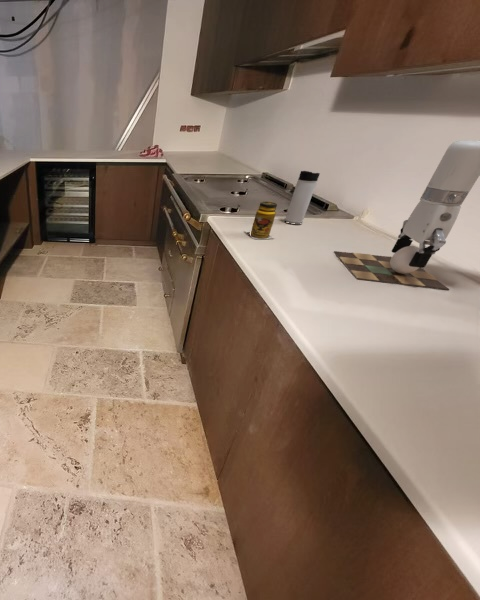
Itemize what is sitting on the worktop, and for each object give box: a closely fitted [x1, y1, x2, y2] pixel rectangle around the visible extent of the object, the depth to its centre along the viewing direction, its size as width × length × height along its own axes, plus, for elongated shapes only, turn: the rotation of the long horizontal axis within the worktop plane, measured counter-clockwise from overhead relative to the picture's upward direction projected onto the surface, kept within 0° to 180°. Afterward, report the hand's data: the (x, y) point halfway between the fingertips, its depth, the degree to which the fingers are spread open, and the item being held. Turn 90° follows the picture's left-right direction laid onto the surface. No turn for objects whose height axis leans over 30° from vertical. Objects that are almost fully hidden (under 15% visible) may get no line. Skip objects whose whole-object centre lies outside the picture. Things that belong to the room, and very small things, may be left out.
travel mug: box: [284, 170, 321, 225], centre depth 125 cm, size 6×7×20 cm
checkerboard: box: [333, 250, 450, 291], centre depth 93 cm, size 20×20×1 cm
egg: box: [390, 245, 420, 274], centre depth 88 cm, size 6×6×8 cm
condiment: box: [245, 201, 278, 240], centre depth 115 cm, size 7×8×12 cm
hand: (406, 259), depth 88 cm, fingers open, 9 cm apart
